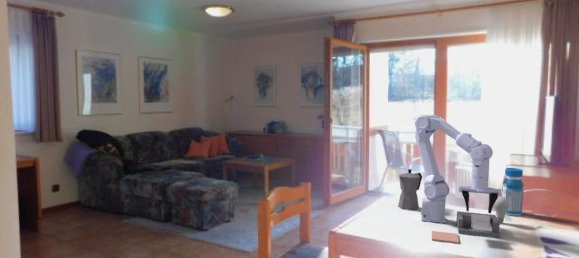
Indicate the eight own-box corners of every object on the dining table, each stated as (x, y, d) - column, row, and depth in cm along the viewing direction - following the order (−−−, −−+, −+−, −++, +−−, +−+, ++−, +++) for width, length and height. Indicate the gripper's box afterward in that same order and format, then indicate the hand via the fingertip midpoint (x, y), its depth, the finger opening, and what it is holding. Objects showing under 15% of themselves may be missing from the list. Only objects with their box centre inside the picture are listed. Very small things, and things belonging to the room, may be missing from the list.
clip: (473, 229, 143) (473, 220, 143) (471, 222, 150) (471, 214, 150) (492, 231, 141) (492, 222, 141) (488, 224, 148) (489, 215, 148)
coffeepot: (407, 212, 180) (408, 172, 179) (390, 207, 188) (392, 168, 187) (428, 207, 189) (430, 168, 188) (412, 202, 197) (413, 165, 196)
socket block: (458, 233, 153) (459, 220, 153) (456, 223, 166) (456, 211, 165) (499, 238, 149) (500, 224, 148) (494, 227, 161) (495, 214, 161)
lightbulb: (510, 225, 163) (512, 199, 162) (494, 224, 164) (495, 198, 163) (505, 221, 169) (507, 195, 168) (489, 220, 170) (491, 194, 169)
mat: (431, 240, 146) (432, 238, 146) (431, 232, 154) (431, 230, 154) (459, 243, 143) (459, 241, 143) (457, 235, 151) (457, 233, 151)
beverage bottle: (513, 217, 175) (516, 171, 173) (496, 211, 183) (498, 167, 181) (526, 215, 178) (529, 170, 177) (509, 210, 186) (512, 166, 184)
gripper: (460, 177, 153) (458, 212, 154) (503, 180, 148) (501, 216, 149) (459, 173, 159) (457, 207, 160) (500, 176, 155) (498, 211, 156)
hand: (478, 211), depth 155 cm, fingers open, 7 cm apart
